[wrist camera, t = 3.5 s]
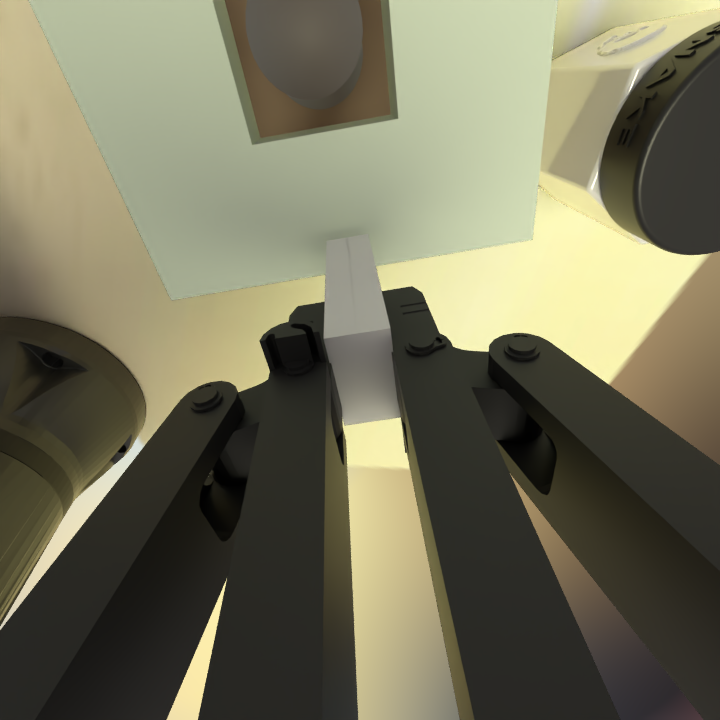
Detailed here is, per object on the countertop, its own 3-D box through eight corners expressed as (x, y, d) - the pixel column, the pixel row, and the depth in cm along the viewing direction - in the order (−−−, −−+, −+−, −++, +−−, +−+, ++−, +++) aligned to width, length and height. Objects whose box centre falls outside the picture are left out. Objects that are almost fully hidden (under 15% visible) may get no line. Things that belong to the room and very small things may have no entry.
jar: (655, -1, 21) (935, -70, 11) (657, 153, 26) (861, 197, 16) (493, 86, 23) (615, 91, 13) (522, 215, 27) (629, 290, 18)
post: (224, 227, 27) (147, 338, 15) (98, -139, 17) (-348, -562, 6) (462, 186, 26) (567, 268, 15) (463, -214, 17) (750, -838, 5)
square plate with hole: (185, 280, 18) (171, 300, 16) (-69, -299, 9) (-152, -378, 8) (513, 224, 18) (532, 239, 16) (564, -441, 9) (618, -557, 7)
